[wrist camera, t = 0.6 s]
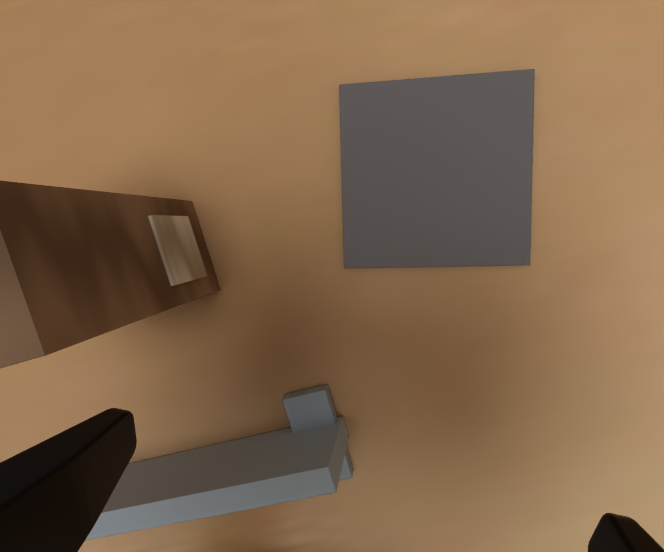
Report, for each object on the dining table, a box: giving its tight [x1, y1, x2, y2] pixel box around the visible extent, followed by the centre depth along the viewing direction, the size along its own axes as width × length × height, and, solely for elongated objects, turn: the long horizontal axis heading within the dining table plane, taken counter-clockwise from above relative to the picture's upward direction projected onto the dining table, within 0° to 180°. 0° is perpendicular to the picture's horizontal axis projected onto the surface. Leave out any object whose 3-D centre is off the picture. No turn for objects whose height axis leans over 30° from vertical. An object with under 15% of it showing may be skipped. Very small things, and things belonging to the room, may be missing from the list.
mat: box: [339, 69, 535, 268], centre depth 21 cm, size 9×9×1 cm
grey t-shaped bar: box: [86, 384, 353, 540], centre depth 23 cm, size 18×5×5 cm, turn 107°
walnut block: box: [0, 181, 220, 368], centre depth 18 cm, size 5×5×12 cm
